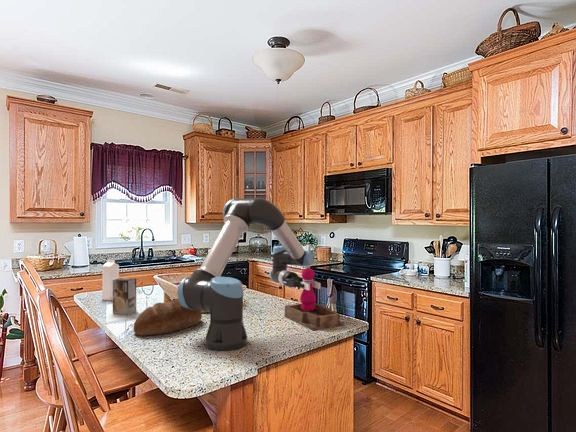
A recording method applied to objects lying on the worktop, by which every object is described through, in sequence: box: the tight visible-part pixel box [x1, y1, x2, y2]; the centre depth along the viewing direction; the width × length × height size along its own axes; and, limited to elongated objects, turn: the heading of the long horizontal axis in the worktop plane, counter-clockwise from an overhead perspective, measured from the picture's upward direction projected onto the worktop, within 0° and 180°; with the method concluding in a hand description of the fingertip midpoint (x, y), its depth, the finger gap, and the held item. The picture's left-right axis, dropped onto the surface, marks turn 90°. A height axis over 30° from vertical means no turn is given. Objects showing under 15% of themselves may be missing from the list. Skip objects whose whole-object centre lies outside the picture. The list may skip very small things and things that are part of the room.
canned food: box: [163, 280, 181, 303], centre depth 192 cm, size 8×8×12 cm
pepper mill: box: [299, 265, 317, 310], centre depth 168 cm, size 7×7×20 cm
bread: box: [132, 299, 203, 337], centre depth 153 cm, size 16×29×11 cm, turn 140°
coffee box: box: [112, 277, 137, 315], centre depth 176 cm, size 9×6×16 cm
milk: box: [101, 259, 120, 301], centre depth 205 cm, size 6×6×22 cm
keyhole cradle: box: [283, 302, 345, 331], centre depth 163 cm, size 16×24×5 cm, turn 29°
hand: (314, 286), depth 163 cm, fingers closed on pepper mill, 5 cm apart
